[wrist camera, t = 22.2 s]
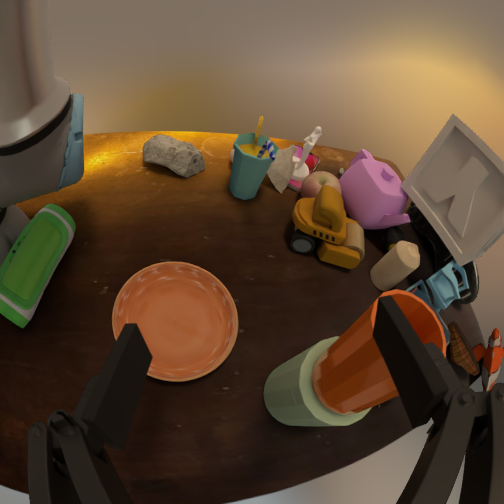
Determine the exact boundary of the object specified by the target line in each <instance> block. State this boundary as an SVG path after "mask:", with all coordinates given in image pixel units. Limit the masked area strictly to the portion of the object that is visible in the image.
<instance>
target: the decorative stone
mask: <svg viewBox="0 0 504 504" xmlns="http://www.w3.org/2000/svg"><path fill="white" fill-rule="evenodd" d="M143 159H144V161H145V162H147V163H153V164H158V165H159V164H160V165H162V166H166V167H168V168H169V169H171V170H172V171H174V172H175V173H176V174H178V175H181V176H184V177H186V178H187V177H190V176H192V175H195V174H198V173H199V172H200V171H203V170H204V169H205V162H204V159H203V155H202V154H201V152H200V151H199V150H198V149H197V148H195V147H194V145H193V144H192V143H186V142H181V141H178V140H176V139H174V138H172V137H170V136H166V135H157V136H154V137H152V138H151V139H150V140H148V141H147V142H146V143H145V144H144V146H143Z"/></svg>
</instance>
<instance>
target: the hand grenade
mask: <svg viewBox="0 0 504 504" xmlns="http://www.w3.org/2000/svg"><path fill="white" fill-rule="evenodd" d="M399 241H405V236H404V233H403V231H402V230H401V229H400V228H399V227H392V228H390V229H389V231H388V232H387V234H386V238H385V248H386V250H387V252H389V251H390V250H391V249H392V248H393V247H394V246H395V245H396V244H397V243H398V242H399Z"/></svg>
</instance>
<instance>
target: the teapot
mask: <svg viewBox="0 0 504 504" xmlns="http://www.w3.org/2000/svg"><path fill="white" fill-rule="evenodd" d="M350 163H351V167H350V168H349V169H348V170H347V171H346V172H345V173H344V174H343V175H342V177H341V178H340V180H339V182H340V185H341V191H342V193H341V196H342V198H343V203H344V208H345V210H346V211H347V213H348V214H349V216H350V217H351V219H352V220H355V221H357V222H358V223H359V225H360V226H361V227H362V228H363V229H385V228H389V227H391V226H395V225H400V224H405V223H409V222H411V221H410V218H409V216H408V214H402V213H403V211H404V208H405V206H406V203H407V200H408V197H409V196H408V194H407V193H406V192H405V191H404V190H403V188H402V187H401V186H400V185H401V184H402V181H401V180H400V179H399V177H398V176H397V174H396V173H395V172H394V171H393V170H392V168H391V167H390V166H389V165H388V164H386V163H384V162H380V161H376V160H374V159H373V157H372V156H371V154H370V153H369V151H367V150H363V149H361V150H360V151H359V153H358V154H357V155H356V156H355V158H354V159H353V160H352V161H351V162H350Z"/></svg>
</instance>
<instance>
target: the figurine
mask: <svg viewBox="0 0 504 504" xmlns="http://www.w3.org/2000/svg"><path fill="white" fill-rule="evenodd" d="M320 134H321V128H320V127H316V129H315V130H314V132H313V133H312V134H311V135H310V137H306V139H305V141H306V140H307V141H306V143H305V144H304V147H303V151H302V156H301V159H299V158H297V157H295V156H293V161H295V162H296V165H295V169H294V172H293V174H292V177H291V179H293V180H296V181H304V179H305V178H306V177H307V176H308V175H309V169H308V167H307V165H306V164H305V160H306V159H307V157H308V155H309V152H310V150H312V149H313V146H314V145H315V143H316V141H317V139H319V136H321V135H320ZM322 135H323V134H322Z"/></svg>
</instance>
